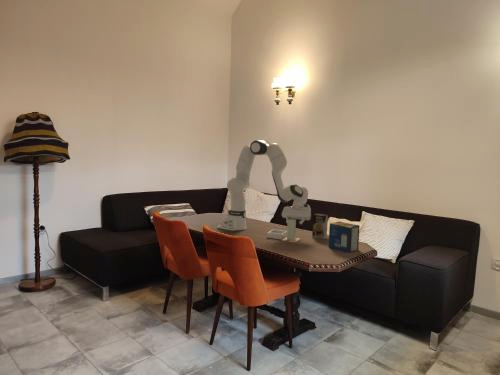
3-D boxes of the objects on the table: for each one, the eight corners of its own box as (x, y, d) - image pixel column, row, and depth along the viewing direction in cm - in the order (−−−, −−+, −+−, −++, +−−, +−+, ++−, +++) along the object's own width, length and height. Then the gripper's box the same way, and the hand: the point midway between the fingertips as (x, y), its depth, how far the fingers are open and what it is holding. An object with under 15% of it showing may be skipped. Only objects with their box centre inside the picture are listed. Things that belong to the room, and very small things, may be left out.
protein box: (337, 244, 237) (338, 221, 236) (358, 250, 226) (360, 225, 224) (327, 247, 230) (329, 223, 229) (348, 252, 219) (350, 227, 217)
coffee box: (311, 237, 256) (312, 214, 254) (314, 235, 262) (315, 213, 260) (324, 238, 252) (325, 215, 250) (327, 237, 258) (328, 214, 256)
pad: (281, 240, 243) (281, 239, 243) (286, 237, 252) (286, 236, 252) (296, 242, 239) (296, 241, 239) (300, 239, 248) (300, 238, 248)
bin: (266, 237, 251) (267, 232, 251) (272, 234, 262) (273, 229, 262) (282, 239, 247) (282, 234, 246) (287, 235, 258) (287, 231, 257)
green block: (286, 239, 244) (287, 220, 243) (288, 237, 248) (289, 219, 247) (293, 240, 242) (294, 220, 241) (295, 238, 246) (296, 219, 245)
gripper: (283, 203, 259) (278, 218, 251) (311, 205, 251) (307, 222, 243) (285, 208, 263) (280, 224, 255) (313, 211, 255) (308, 227, 247)
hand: (293, 223), depth 249 cm, fingers open, 8 cm apart
